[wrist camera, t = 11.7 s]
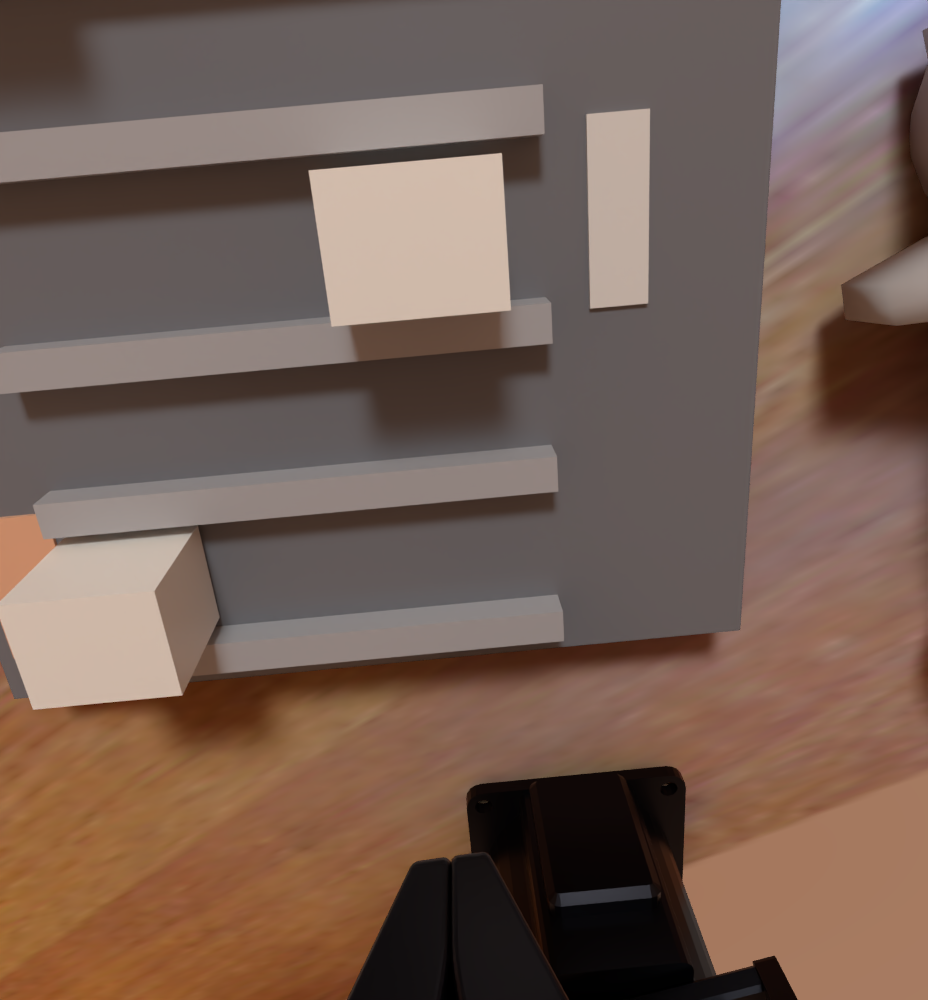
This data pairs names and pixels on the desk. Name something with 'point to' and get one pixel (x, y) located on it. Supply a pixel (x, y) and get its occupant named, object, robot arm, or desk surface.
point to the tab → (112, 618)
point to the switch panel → (395, 344)
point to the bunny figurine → (909, 273)
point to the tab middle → (413, 239)
